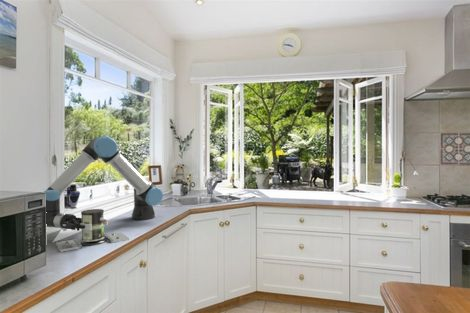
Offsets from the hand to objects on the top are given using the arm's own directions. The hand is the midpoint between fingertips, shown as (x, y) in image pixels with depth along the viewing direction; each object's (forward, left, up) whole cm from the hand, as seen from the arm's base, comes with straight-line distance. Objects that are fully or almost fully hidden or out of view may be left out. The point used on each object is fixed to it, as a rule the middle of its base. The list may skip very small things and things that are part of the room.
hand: (99, 224), depth 156 cm
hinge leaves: (+2, -4, -9) cm, 10 cm away
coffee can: (+2, -4, -8) cm, 9 cm away
